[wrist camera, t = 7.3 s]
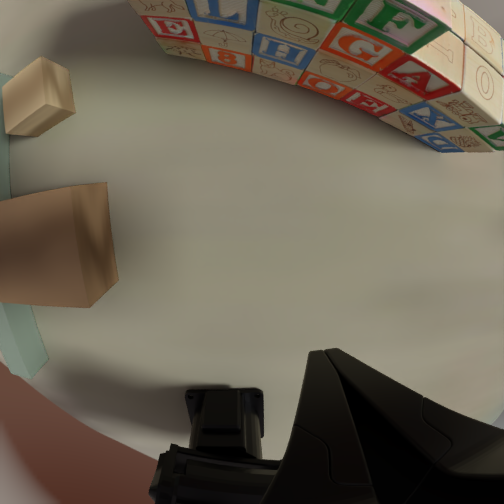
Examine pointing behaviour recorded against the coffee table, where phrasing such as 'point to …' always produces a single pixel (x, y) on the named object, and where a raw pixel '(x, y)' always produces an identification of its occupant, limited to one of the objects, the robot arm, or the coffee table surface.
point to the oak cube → (37, 98)
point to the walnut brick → (57, 247)
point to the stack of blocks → (357, 57)
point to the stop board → (8, 314)
